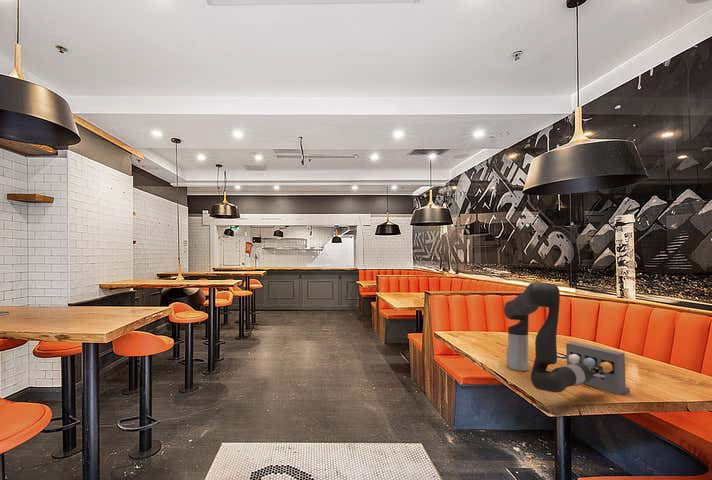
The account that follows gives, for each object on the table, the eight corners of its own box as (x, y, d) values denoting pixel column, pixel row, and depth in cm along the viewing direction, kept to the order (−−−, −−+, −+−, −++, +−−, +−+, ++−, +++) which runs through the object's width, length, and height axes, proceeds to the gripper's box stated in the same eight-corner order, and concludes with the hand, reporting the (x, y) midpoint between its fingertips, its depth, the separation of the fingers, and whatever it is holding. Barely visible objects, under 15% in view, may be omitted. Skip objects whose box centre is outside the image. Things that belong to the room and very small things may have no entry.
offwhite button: (568, 362, 155) (568, 353, 156) (572, 361, 157) (572, 352, 157) (577, 364, 152) (577, 355, 152) (581, 364, 153) (581, 354, 153)
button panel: (567, 378, 157) (566, 343, 158) (577, 376, 161) (576, 341, 162) (619, 394, 139) (617, 354, 140) (629, 391, 142) (628, 352, 143)
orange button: (599, 370, 144) (599, 361, 144) (603, 369, 145) (603, 360, 145) (610, 373, 140) (610, 363, 140) (614, 372, 142) (614, 362, 142)
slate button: (583, 366, 150) (583, 357, 150) (587, 365, 151) (587, 356, 151) (593, 369, 146) (593, 359, 146) (597, 368, 147) (597, 358, 148)
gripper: (592, 369, 127) (618, 363, 135) (557, 360, 139) (583, 355, 147) (593, 390, 127) (618, 383, 134) (558, 379, 138) (583, 373, 146)
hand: (600, 368), depth 141 cm, fingers closed
